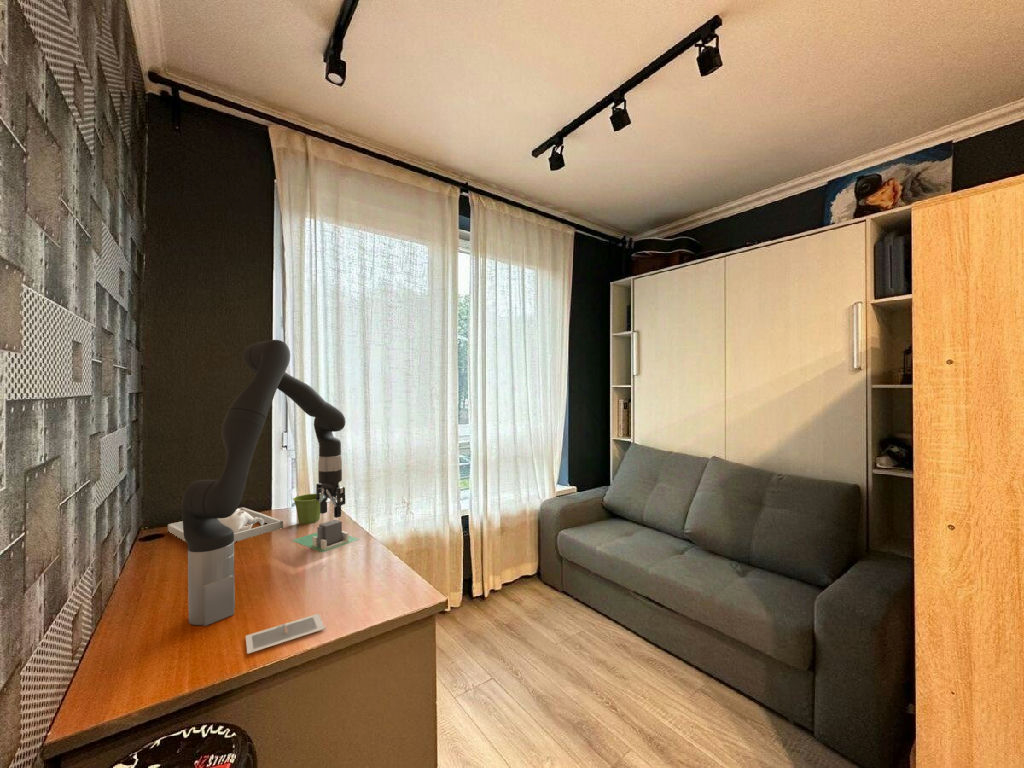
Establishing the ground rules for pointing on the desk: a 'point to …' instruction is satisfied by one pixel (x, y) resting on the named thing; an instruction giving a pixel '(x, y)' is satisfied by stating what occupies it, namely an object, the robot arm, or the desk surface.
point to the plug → (330, 532)
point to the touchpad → (283, 633)
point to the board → (323, 541)
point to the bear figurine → (240, 521)
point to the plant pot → (307, 508)
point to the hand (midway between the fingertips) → (330, 515)
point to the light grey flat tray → (271, 526)
